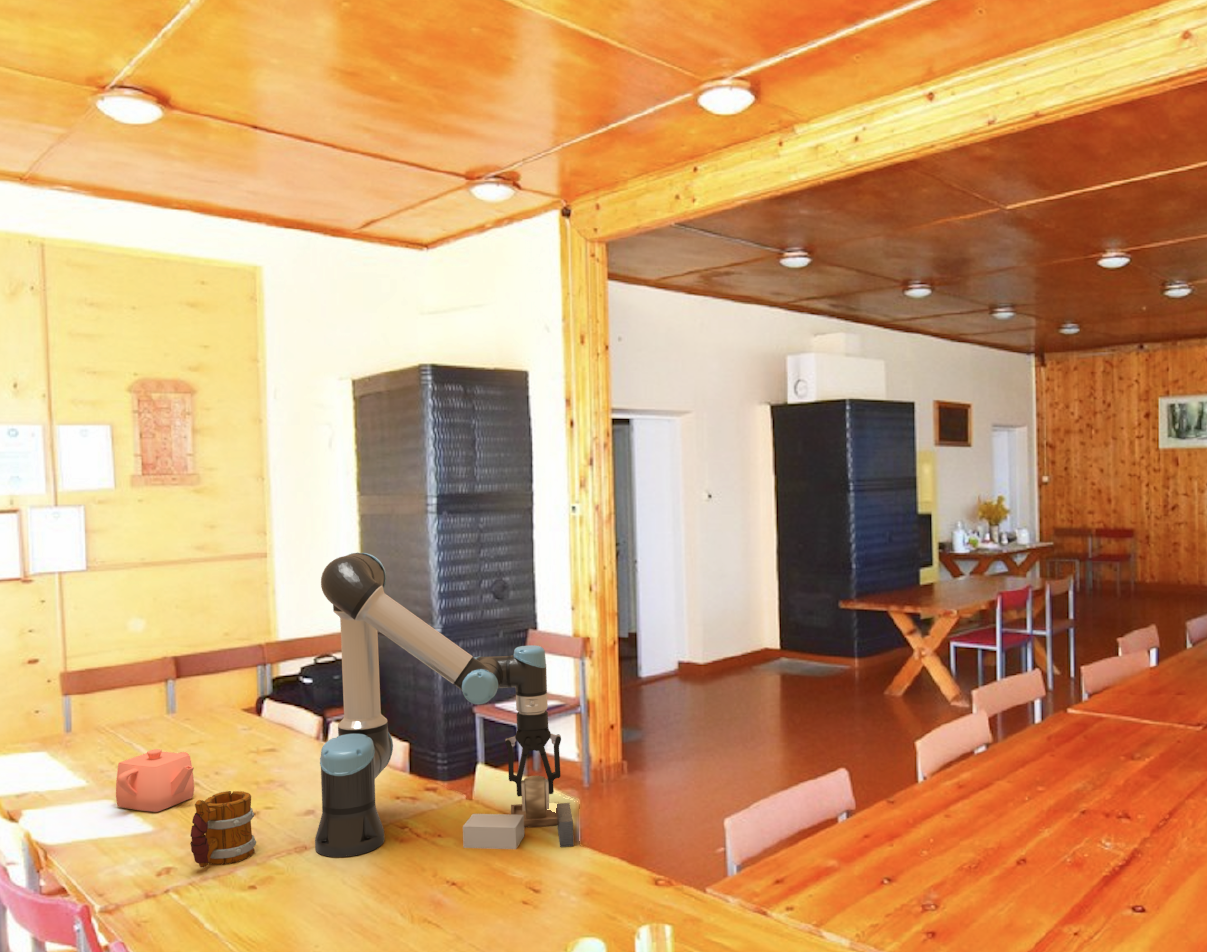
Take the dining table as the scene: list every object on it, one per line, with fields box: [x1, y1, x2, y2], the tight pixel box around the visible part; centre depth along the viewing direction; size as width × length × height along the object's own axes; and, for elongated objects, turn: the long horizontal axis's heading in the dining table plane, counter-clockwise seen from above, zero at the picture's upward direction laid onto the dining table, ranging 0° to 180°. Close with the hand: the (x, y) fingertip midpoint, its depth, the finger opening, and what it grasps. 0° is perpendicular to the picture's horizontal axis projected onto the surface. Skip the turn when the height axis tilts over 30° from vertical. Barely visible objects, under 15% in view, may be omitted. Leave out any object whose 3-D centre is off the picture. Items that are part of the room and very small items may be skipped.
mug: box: [190, 790, 257, 868], centre depth 206 cm, size 11×16×15 cm, turn 161°
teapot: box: [115, 748, 195, 813], centre depth 244 cm, size 20×22×14 cm
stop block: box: [557, 802, 575, 848], centre depth 213 cm, size 3×12×6 cm, turn 6°
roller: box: [523, 775, 546, 819], centre depth 225 cm, size 5×5×9 cm
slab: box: [462, 813, 525, 850], centre depth 211 cm, size 12×8×5 cm, turn 82°
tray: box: [510, 803, 557, 829], centre depth 225 cm, size 12×12×2 cm
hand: (535, 808), depth 225 cm, fingers closed on roller, 5 cm apart
